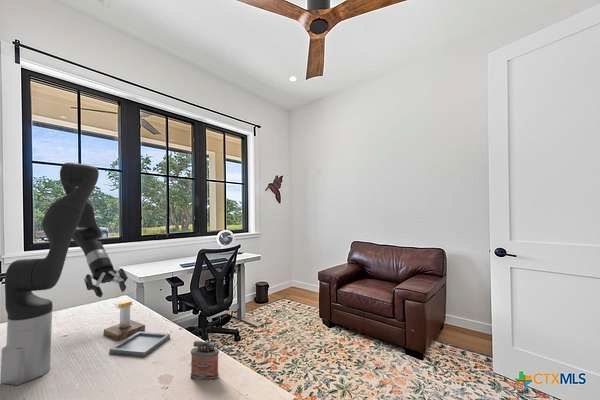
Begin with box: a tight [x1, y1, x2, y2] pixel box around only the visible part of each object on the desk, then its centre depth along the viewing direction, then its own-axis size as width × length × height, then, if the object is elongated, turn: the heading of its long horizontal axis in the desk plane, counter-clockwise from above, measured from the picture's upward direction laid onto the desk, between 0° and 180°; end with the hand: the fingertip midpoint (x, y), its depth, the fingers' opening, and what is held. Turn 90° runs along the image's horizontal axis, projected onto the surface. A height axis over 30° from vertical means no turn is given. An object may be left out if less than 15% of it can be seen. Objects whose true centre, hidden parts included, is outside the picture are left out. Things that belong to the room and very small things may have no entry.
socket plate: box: [103, 319, 146, 341], centre depth 104 cm, size 10×10×2 cm
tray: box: [109, 331, 171, 358], centre depth 94 cm, size 13×13×2 cm
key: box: [118, 300, 133, 330], centre depth 104 cm, size 4×2×12 cm, turn 151°
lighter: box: [190, 339, 220, 382], centre depth 76 cm, size 8×3×10 cm, turn 84°
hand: (112, 293), depth 109 cm, fingers open, 8 cm apart
